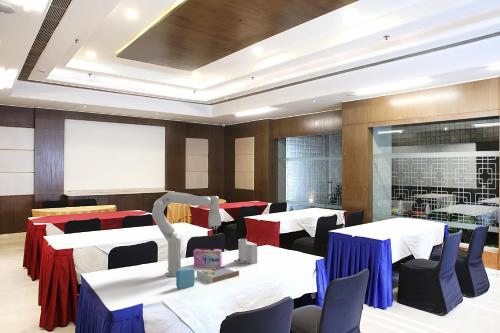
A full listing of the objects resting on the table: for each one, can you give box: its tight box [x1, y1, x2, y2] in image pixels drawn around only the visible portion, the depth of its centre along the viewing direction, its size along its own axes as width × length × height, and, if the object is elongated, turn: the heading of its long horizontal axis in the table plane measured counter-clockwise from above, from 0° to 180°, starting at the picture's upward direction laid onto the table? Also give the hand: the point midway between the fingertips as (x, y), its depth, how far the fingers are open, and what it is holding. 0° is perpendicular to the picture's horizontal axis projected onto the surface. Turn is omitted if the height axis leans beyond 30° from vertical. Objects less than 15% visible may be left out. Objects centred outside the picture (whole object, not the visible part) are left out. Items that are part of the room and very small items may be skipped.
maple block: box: [203, 269, 215, 277], centre depth 259 cm, size 5×6×4 cm
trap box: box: [196, 265, 240, 284], centre depth 266 cm, size 19×26×5 cm
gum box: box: [192, 247, 223, 268], centre depth 296 cm, size 24×8×14 cm, turn 83°
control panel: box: [233, 238, 258, 265], centre depth 303 cm, size 16×19×20 cm
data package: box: [175, 267, 196, 290], centre depth 243 cm, size 12×4×12 cm, turn 127°
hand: (214, 234), depth 282 cm, fingers closed
